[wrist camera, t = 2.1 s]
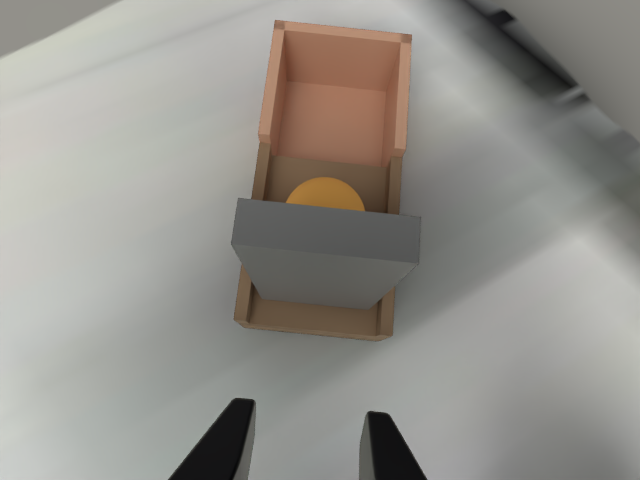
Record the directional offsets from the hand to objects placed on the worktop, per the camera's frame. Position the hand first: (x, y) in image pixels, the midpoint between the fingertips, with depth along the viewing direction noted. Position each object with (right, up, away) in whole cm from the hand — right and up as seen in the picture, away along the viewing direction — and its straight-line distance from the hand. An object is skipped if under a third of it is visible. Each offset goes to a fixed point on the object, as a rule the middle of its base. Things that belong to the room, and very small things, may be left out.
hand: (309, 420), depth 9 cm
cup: (+1, +9, +17) cm, 19 cm away
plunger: (0, +1, +11) cm, 11 cm away
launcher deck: (0, +3, +15) cm, 15 cm away
